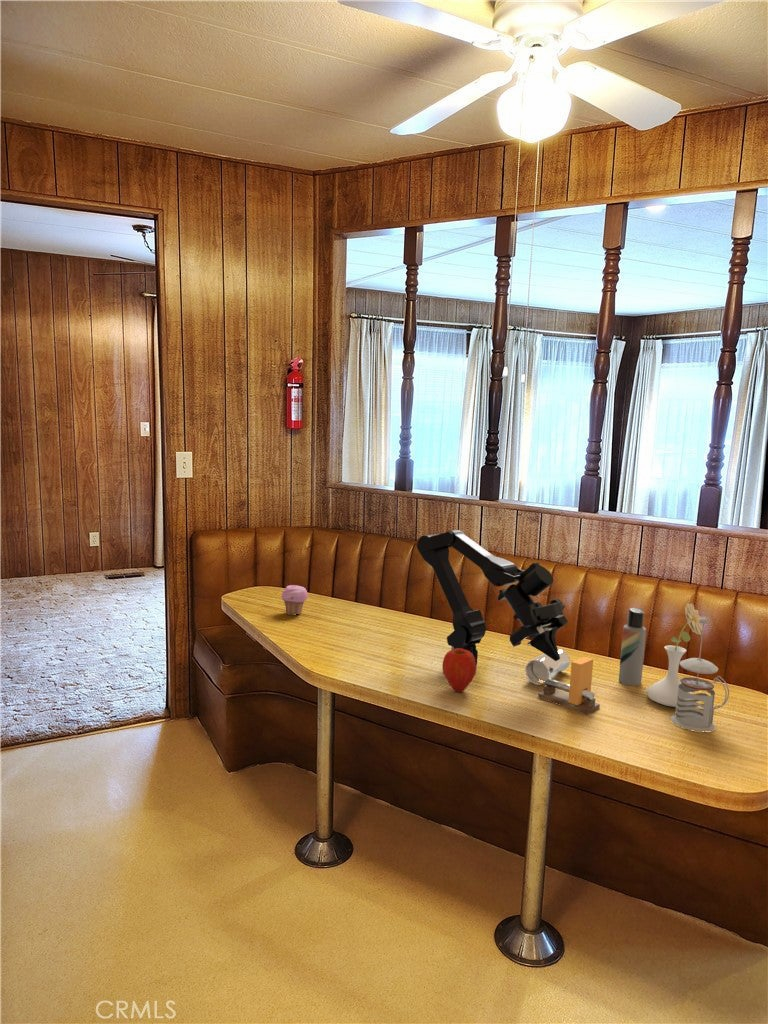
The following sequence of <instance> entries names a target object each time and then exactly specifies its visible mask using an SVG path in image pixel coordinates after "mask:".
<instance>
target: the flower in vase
mask: <svg viewBox="0 0 768 1024" xmlns="http://www.w3.org/2000/svg"><path fill="white" fill-rule="evenodd" d="M684 614H685V618H686V620H687V621H686V623H685V624H684V626H683V627H682V629H681V631H680V633H679V636H678V638H677V637H676V636H672V637H671V639H670V640H669V641H670V642H673V643H676V644H675V645H665V646H664V650H665V651H666V653H667V657H668V667H667V668H668V669H667V674H666V675H665V677H664V678H662V679H660V680H659V681H656V682H655V683H653V684H651V685H649V686H648V687H647V689H646V691H645V694H646V695H647V697H648V698H649V699H650V700H652V701H654V702H656V703H658V704H660V705H663V706H666V707H667V706H668V707H673V708H676V703H677V694H678V686H679V684H682V683H681V681H680V680H681V679H680V678H679V666H680V662H681V658H683V655H684V654H685V653H687V649H686V648H684V647H682V646H679V643H681V642H682V640H683V642H685V643H688V642H690V640H691V635H690V633H688V632H687V631H685V628H686V627H687V626H689V628H690V630H691V631H692V632H693V633H695V634H696V635H700V636H702V627H703V624H702V623H699V619H701V618H702V617H701V615H699V614H700V612H699V610H698V609H695V606H694V604H693V603H688V602H687V603H686V605H685V608H684ZM704 629H705V628H703V632H704ZM687 693H690V694H693V692H687ZM683 700H694V699H683ZM687 705H691V704H687Z"/></svg>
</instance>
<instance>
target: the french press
mask: <svg viewBox="0 0 768 1024" xmlns="http://www.w3.org/2000/svg"><path fill="white" fill-rule="evenodd" d="M699 623H702V626H703V627H702V630H701V638H700V639H701V640H700V647H699V656H698V657H690V658H687V659H684V660H680V663H679V666H680V667H681V668H682V669H684V670H685V671H689V672H693V673H697V675H696V677H691V676H688V677H687V676H685V677H682V678H680V679H679V680H680V681H681V683H682V684H679V686H678V694H677V703H676V707H675V713H674V714H672V715H671V716H672V717H670V718H669V721H670V722H671V721H672V722H673V723H674V724H673V723H672V722H671V723H672V724H673V725H675V724H676V725H678V726H680V727H683V728H686V729H689V730H694V731H700V732H699V733H701V732H702V731H704V732H705V731H712V730H714V729H715V727H716V728H717V726H716V725H715V723H714V722H713V721H714V713H715V710H717V709H720V708H722V707H723V706H724V705H726V704H727V702H728V700H729V698H730V697H729V696H730V689H729V686H728V683H727V681H726V680H725V679H724V678H722V677H721V675H717V676H715V677H713V682H710V681H709V680H705V679H702V678H699V675H700V674H702V675H704V674H705V675H712V674H716V673H717V672H718V670H719V668H718V666H716V665H715V664H714V663H713V662H711V661H710V660H706V659H704V658H701V656H702V655H701V654H702V645H703V636H704V631H703V629H705V627H704V625H707V624H708V625H709V620H708V619H707V617H701V619H699ZM719 678H720V679H721V680H720V679H719ZM717 681H718V682H720V684H721V685H722V687H723V689H724V693H725V695H724V701H723V702H722V704H721V705H715V697H716V691H715V690H714V687H715V685H714V684H716V683H717ZM723 682H724V683H723ZM713 683H714V684H713ZM699 691H705V692H707V693H709V694H710V695H709V694H707V693H704V692H699ZM687 692H692V694H690V693H687ZM694 692H698V693H694ZM683 699H694V700H683ZM699 702H702V703H699ZM687 704H691V705H687ZM714 705H715V706H714ZM697 707H700V708H697ZM676 725H675V726H676ZM678 726H677V727H678ZM680 727H679V728H680ZM683 728H682V729H683ZM689 730H688V731H689Z"/></svg>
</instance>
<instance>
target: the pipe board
mask: <svg viewBox="0 0 768 1024" xmlns="http://www.w3.org/2000/svg"><path fill="white" fill-rule="evenodd" d="M539 697H540V699H541V698H543V699H542V700H544V699H546V700H545V701H547V700H549V701H548V702H550V701H551V702H550V703H553V702H554V703H553V704H556V703H557V704H556V705H558V704H560V705H559V706H561V705H562V706H561V707H564V706H565V707H564V708H567V707H568V708H567V709H570V708H571V709H570V710H572V711H575V710H576V712H578V711H579V712H578V713H581V714H583V715H584V714H585V715H590V714H591V713H593V712H595V711H597V710H598V709H600V707H601V705H600V703H598V702H596V698H595V697H594V699H593V700H589V699H586V700H585V701H584V702H583V703H581V704H579V705H575V704H572V703H569V702H568V700H569V692H566V691H563V690H560V689H557V688H554V687H551V686H548V685H546V684H545V685H544V686H543V691H541V692H539V693H538V694H537V698H539Z"/></svg>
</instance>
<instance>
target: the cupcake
mask: <svg viewBox="0 0 768 1024" xmlns="http://www.w3.org/2000/svg"><path fill="white" fill-rule="evenodd" d="M281 599H282V601H283V603H284V606H285V614H286V615H287V614H288V615H287V616H291V615H292V616H295V615H294V614H299V615H300V614H302V612H303V607H304V603H305V601H306V600H307V599H308V591H307V589H306V587H304V586H300V585H297V584H296V585H295V584H290V585H287V586H286V587H285V588H284V589H283V591H282V594H281Z"/></svg>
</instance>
